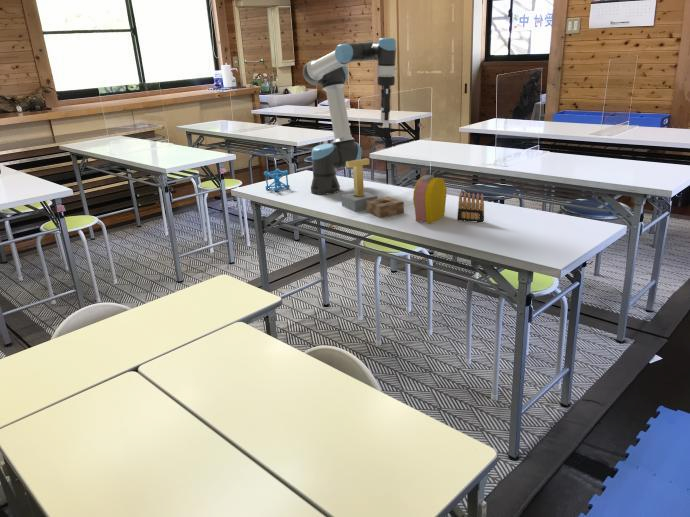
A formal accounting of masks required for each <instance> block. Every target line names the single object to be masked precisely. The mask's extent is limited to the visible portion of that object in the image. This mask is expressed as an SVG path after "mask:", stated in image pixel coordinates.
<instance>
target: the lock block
mask: <svg viewBox="0 0 690 517" xmlns="http://www.w3.org/2000/svg"><path fill="white" fill-rule="evenodd" d="M404 205H405V201H402V200H399V199H396V198H394V197H391V196H385V197H379V198H378V197H377V199H374V200H369V201H366V209H365V210H366V211H365V212H366V213H368V214H370V215H373V216H375V217H378V218H380V219H383V218H387V217H393V216H396V215H397V216H398V215H401V214H405V206H404ZM392 215H393V216H392Z"/></svg>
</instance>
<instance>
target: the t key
mask: <svg viewBox="0 0 690 517" xmlns="http://www.w3.org/2000/svg"><path fill="white" fill-rule="evenodd" d="M366 165H368V166H369V165H370V158H367V157H366V158H361V159H359V160H353V161H347V162H346V167H345V168H348V169H350V168H352V171H353V172H352V174H353V177H352V178H353V193H354V196H355V197H357V198H358V197H363V196H364V191H365V190H364V188H365V186H364V169H363V168H364V166H366Z"/></svg>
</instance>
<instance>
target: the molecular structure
mask: <svg viewBox="0 0 690 517" xmlns="http://www.w3.org/2000/svg"><path fill="white" fill-rule="evenodd" d="M288 174H289V171H288V170H287V169H286V170H284V171H283V170H280V168H276V169H275V170H273V171H272V170H271V171H264V172H263V175H264V176H265V182H266V186H265V190H267V189H268V188H269V190H272V189H273V191H274V192H275V191H277V192H279V191H280V190H283V189H286V188H289V187H291V186H290V184H289V179H288ZM280 175H281V176H280ZM284 176H285V180H286V181H285V182H286V184H285V183H284V182H282V181H281V180H280V179H282V178H283V177H284ZM268 177H270V178H271V179H273V182H272V183H270V184H269V182H268ZM278 186H280V187H278ZM270 187H271V188H270ZM289 189H290V188H289Z"/></svg>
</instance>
